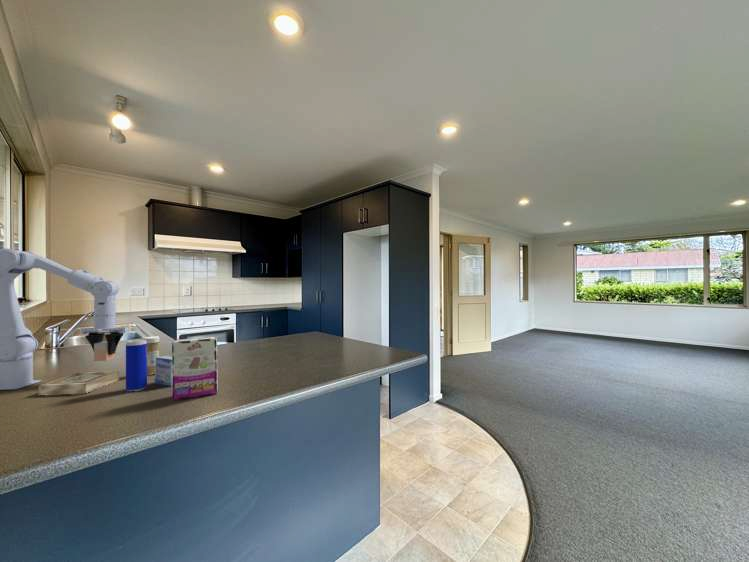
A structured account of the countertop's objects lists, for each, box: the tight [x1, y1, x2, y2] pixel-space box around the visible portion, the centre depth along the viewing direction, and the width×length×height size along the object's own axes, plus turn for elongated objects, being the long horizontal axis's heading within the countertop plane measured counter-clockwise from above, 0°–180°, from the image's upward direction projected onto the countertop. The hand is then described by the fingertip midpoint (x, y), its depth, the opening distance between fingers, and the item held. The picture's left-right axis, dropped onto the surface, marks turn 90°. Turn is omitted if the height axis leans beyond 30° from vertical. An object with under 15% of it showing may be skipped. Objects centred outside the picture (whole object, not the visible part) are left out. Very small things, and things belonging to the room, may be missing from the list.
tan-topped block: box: [93, 340, 116, 362], centre depth 106 cm, size 4×4×6 cm
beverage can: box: [125, 339, 148, 393], centre depth 94 cm, size 5×5×15 cm
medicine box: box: [154, 354, 173, 387], centre depth 99 cm, size 8×4×9 cm, turn 68°
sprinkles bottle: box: [143, 335, 160, 376], centre depth 110 cm, size 5×5×14 cm
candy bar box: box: [171, 335, 219, 401], centre depth 89 cm, size 11×5×16 cm, turn 115°
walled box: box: [37, 370, 120, 397], centre depth 96 cm, size 13×13×3 cm
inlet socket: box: [59, 375, 103, 384], centre depth 96 cm, size 7×7×2 cm
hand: (104, 353), depth 106 cm, fingers closed on tan-topped block, 4 cm apart
